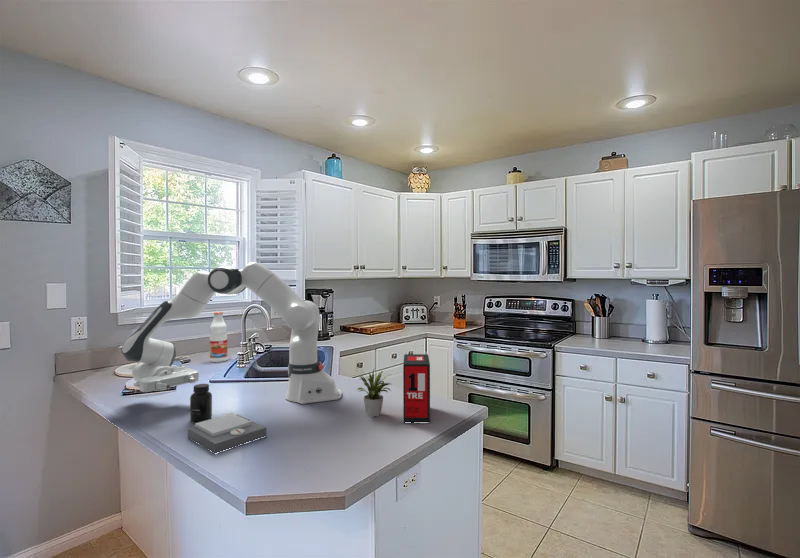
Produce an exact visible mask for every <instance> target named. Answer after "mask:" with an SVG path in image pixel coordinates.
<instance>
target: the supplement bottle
mask: <svg viewBox="0 0 800 558" xmlns="http://www.w3.org/2000/svg"><path fill="white" fill-rule="evenodd" d="M209 390H210V384H209V383H199V384H195V385H193V391H192V393H191V395H190V397H189V412H190V413H189V420H190V422H191V423H193V422H194V424H195V423H199V422H202V421H206V420H210V419H213V418H212V417H213V393H212V392H210V391H209Z"/></svg>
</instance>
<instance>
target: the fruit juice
mask: <svg viewBox="0 0 800 558" xmlns="http://www.w3.org/2000/svg"><path fill="white" fill-rule="evenodd" d="M223 314H224V312H222V311H214V312H213V318H212V322H211V324H210V326H209V331H210V333H209V362H211V363H220V362H221V363H222V362H226V361H227V360H228V359H229V358H228V334H227V330H228V326H227V325H228V324H227V323H226V322H225V320H224V316H223Z"/></svg>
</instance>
